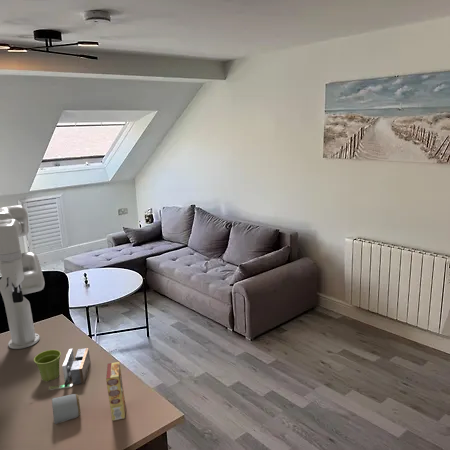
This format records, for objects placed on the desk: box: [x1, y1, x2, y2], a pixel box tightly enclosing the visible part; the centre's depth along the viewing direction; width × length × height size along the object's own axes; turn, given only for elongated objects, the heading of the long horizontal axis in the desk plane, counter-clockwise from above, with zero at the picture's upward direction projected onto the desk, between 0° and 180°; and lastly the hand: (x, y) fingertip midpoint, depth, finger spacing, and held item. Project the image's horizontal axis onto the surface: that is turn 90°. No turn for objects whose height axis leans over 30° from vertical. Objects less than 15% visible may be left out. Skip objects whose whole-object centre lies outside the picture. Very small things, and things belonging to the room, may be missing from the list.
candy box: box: [105, 361, 126, 422], centre depth 134 cm, size 9×4×15 cm, turn 13°
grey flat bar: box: [62, 348, 75, 386], centre depth 156 cm, size 4×14×7 cm, turn 9°
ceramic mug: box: [51, 393, 82, 425], centre depth 134 cm, size 11×8×8 cm
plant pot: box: [33, 349, 62, 382], centre depth 156 cm, size 9×9×9 cm
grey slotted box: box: [48, 347, 91, 391], centre depth 156 cm, size 12×16×6 cm
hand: (18, 301), depth 159 cm, fingers closed
